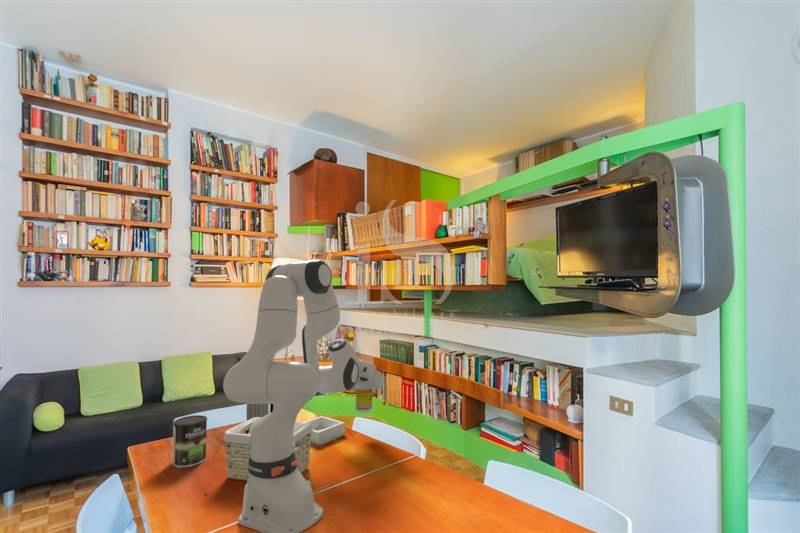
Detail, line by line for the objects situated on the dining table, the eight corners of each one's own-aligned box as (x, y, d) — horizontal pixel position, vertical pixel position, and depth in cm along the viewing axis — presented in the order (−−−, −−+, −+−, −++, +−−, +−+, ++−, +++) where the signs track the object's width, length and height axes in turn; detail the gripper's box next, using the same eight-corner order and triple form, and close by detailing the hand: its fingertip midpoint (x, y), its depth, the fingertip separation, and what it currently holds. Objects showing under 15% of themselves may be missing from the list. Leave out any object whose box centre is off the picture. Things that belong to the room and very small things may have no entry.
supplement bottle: (371, 412, 153) (371, 379, 154) (354, 412, 153) (354, 379, 154) (373, 407, 160) (372, 375, 161) (356, 407, 160) (356, 375, 161)
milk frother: (260, 440, 153) (261, 402, 154) (226, 437, 157) (226, 399, 158) (280, 428, 167) (280, 392, 168) (248, 425, 171) (248, 390, 172)
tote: (344, 435, 158) (344, 422, 159) (317, 446, 147) (317, 432, 147) (321, 427, 167) (321, 415, 167) (294, 437, 156) (294, 425, 156)
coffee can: (211, 459, 136) (212, 418, 137) (180, 470, 128) (181, 427, 129) (197, 452, 143) (198, 413, 143) (167, 462, 134) (168, 420, 135)
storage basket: (220, 479, 122) (220, 431, 123) (254, 458, 138) (254, 415, 139) (286, 491, 115) (286, 439, 116) (314, 466, 131) (314, 421, 131)
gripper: (326, 376, 151) (339, 395, 159) (373, 378, 144) (385, 399, 152) (332, 362, 156) (344, 382, 164) (378, 364, 148) (389, 385, 156)
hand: (364, 390), depth 158 cm, fingers closed on supplement bottle, 7 cm apart
